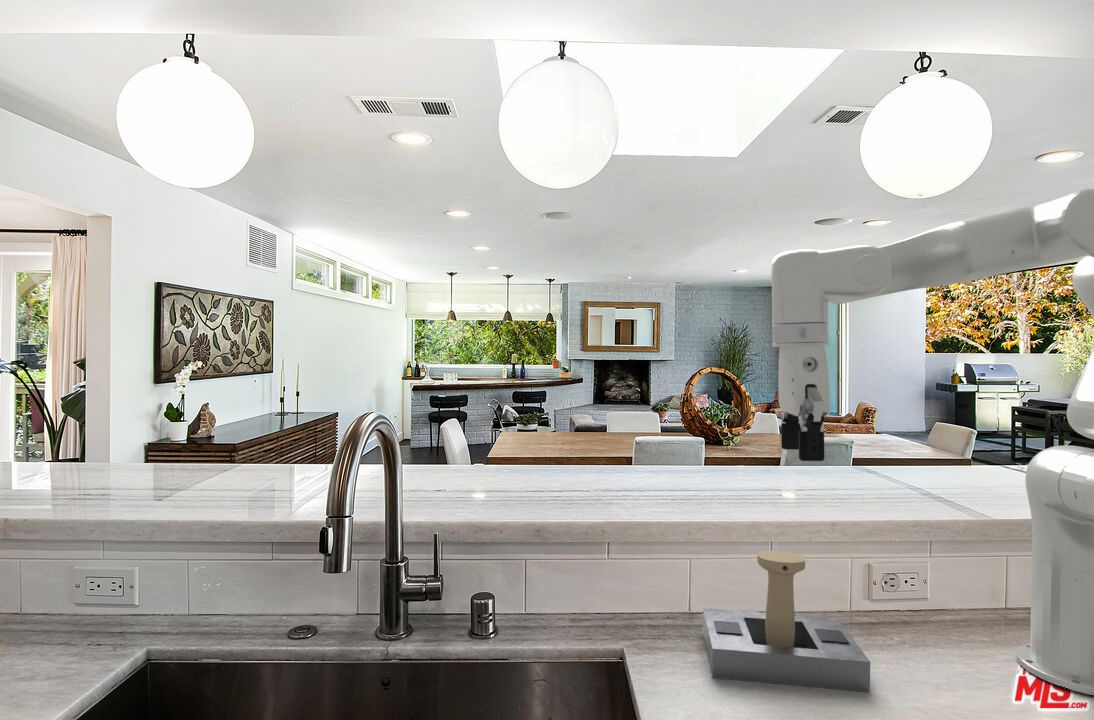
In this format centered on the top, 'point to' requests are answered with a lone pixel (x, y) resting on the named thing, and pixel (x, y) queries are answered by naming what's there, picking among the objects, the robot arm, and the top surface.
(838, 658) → the block
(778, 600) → the handle
